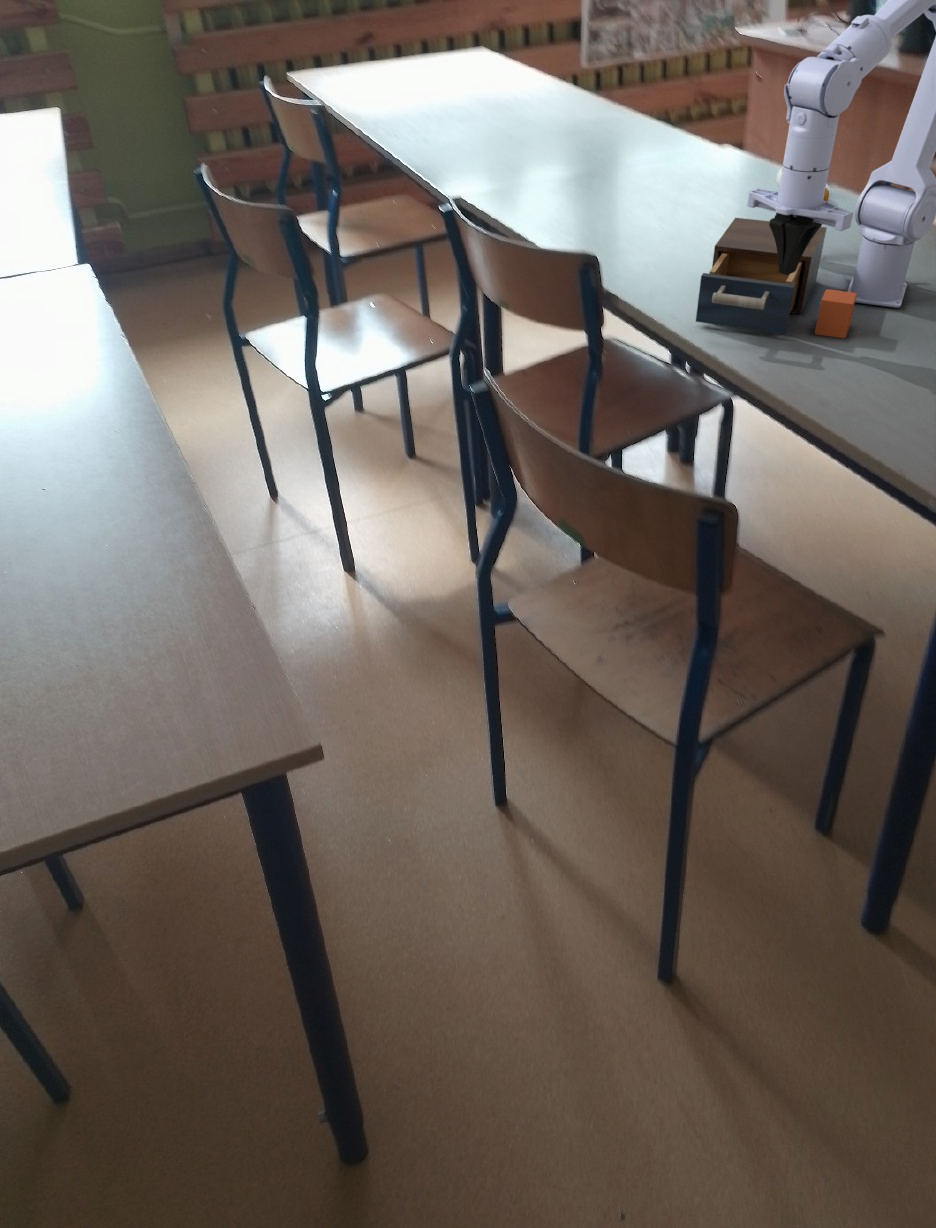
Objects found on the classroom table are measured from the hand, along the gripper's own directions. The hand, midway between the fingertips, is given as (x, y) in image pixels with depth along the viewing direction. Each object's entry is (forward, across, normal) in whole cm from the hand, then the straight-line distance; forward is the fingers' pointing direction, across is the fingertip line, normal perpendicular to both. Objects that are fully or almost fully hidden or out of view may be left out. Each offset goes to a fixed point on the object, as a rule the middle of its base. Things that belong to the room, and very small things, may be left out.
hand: (787, 271), depth 134 cm
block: (+9, +5, +7) cm, 12 cm away
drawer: (+8, -5, 0) cm, 10 cm away
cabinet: (+9, -11, +12) cm, 18 cm away
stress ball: (+9, -35, +55) cm, 65 cm away
